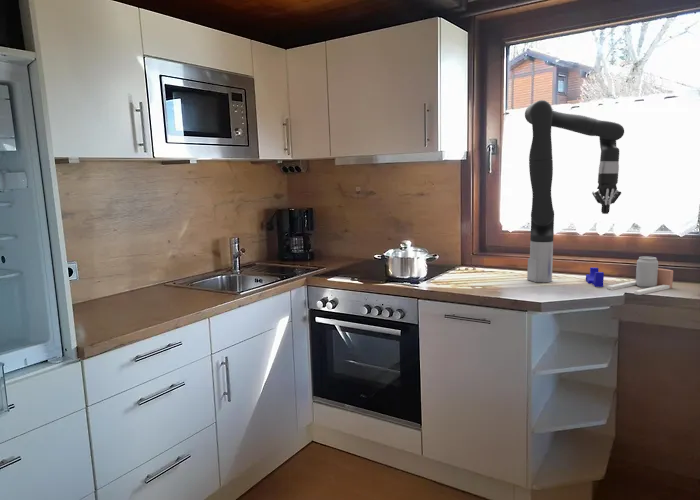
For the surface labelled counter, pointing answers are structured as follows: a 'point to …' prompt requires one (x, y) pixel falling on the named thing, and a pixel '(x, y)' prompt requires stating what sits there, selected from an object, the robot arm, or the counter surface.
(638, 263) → the can
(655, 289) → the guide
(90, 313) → the counter surface
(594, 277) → the cable clip
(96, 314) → the counter surface
